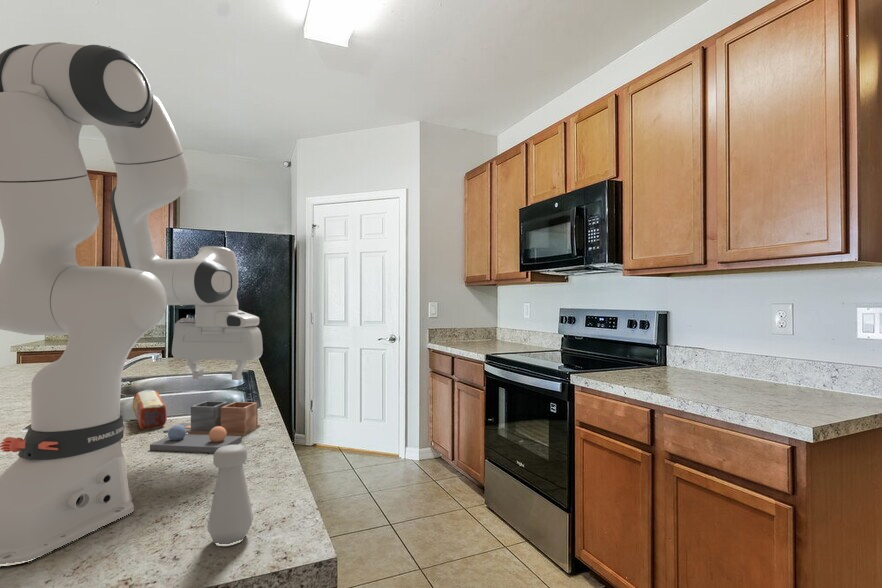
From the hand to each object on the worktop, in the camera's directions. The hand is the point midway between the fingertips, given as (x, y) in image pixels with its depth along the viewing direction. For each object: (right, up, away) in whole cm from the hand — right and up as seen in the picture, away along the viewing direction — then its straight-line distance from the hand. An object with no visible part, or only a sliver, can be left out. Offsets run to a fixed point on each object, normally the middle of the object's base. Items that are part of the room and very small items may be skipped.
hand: (217, 379), depth 103 cm
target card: (-15, -15, +14) cm, 26 cm away
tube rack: (-4, -15, +12) cm, 20 cm away
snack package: (-29, -16, +22) cm, 40 cm away
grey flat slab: (-5, -15, 0) cm, 16 cm away
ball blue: (-10, -13, +1) cm, 16 cm away
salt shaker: (+21, -15, -39) cm, 47 cm away
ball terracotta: (0, -13, 0) cm, 13 cm away
